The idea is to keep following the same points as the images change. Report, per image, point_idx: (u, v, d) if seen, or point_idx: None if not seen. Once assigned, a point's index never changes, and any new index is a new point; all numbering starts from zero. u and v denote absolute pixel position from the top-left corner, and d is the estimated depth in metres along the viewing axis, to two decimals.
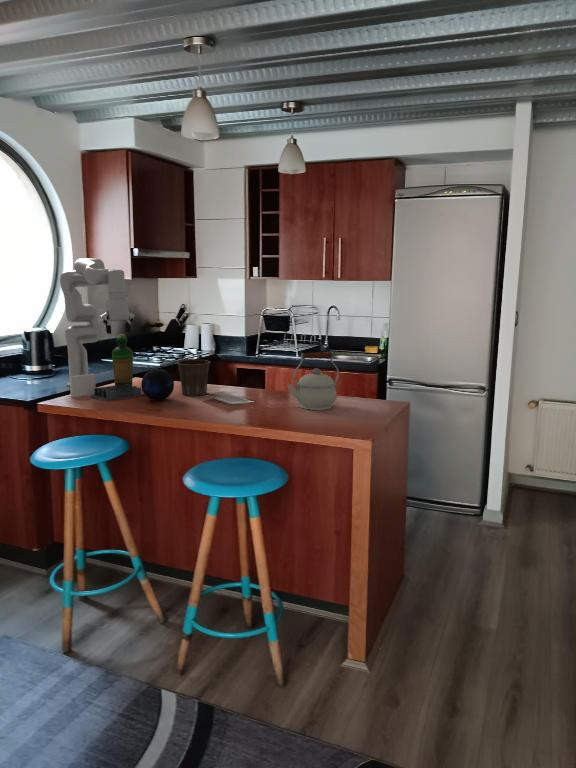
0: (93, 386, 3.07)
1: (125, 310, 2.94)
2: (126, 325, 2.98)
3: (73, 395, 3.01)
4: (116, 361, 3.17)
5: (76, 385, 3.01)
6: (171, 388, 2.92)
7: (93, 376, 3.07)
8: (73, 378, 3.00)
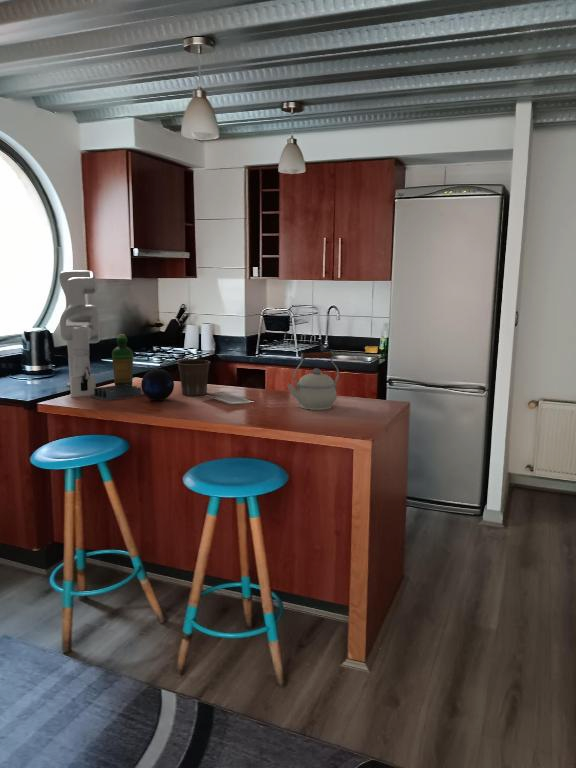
0: (93, 386, 3.07)
1: None
2: None
3: (73, 395, 3.01)
4: (117, 361, 3.17)
5: (76, 385, 3.01)
6: (171, 388, 2.92)
7: (93, 376, 3.07)
8: (73, 378, 3.00)
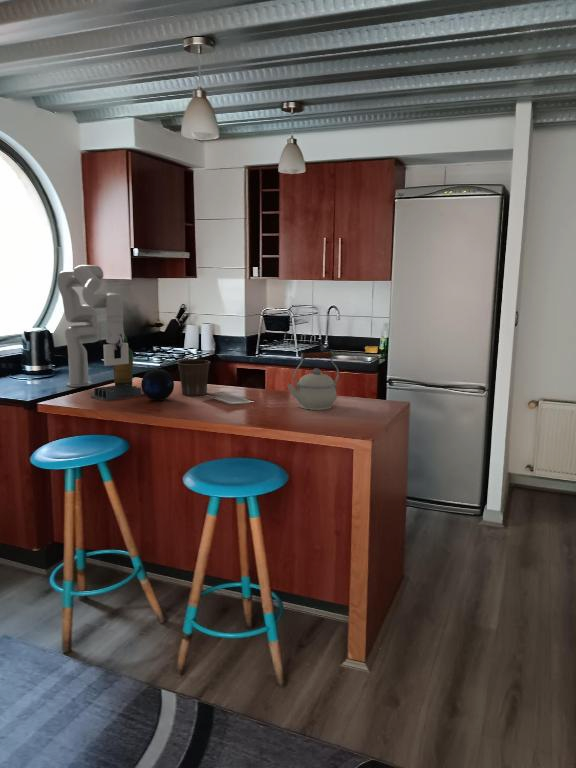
0: (126, 355, 3.04)
1: None
2: None
3: (107, 363, 2.98)
4: None
5: (110, 354, 2.98)
6: (171, 388, 2.92)
7: (126, 345, 3.03)
8: (107, 346, 2.97)
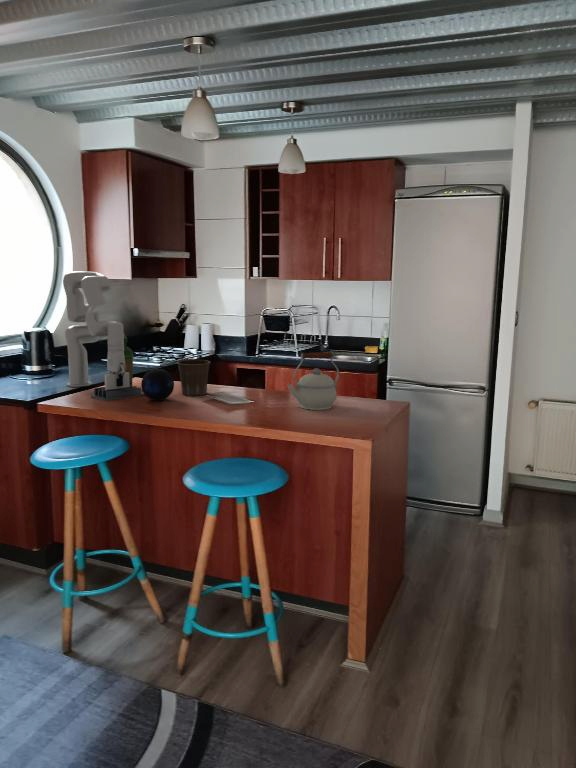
0: (127, 384, 3.07)
1: None
2: None
3: None
4: None
5: (111, 383, 3.01)
6: (171, 388, 2.92)
7: (127, 374, 3.06)
8: (108, 376, 2.99)
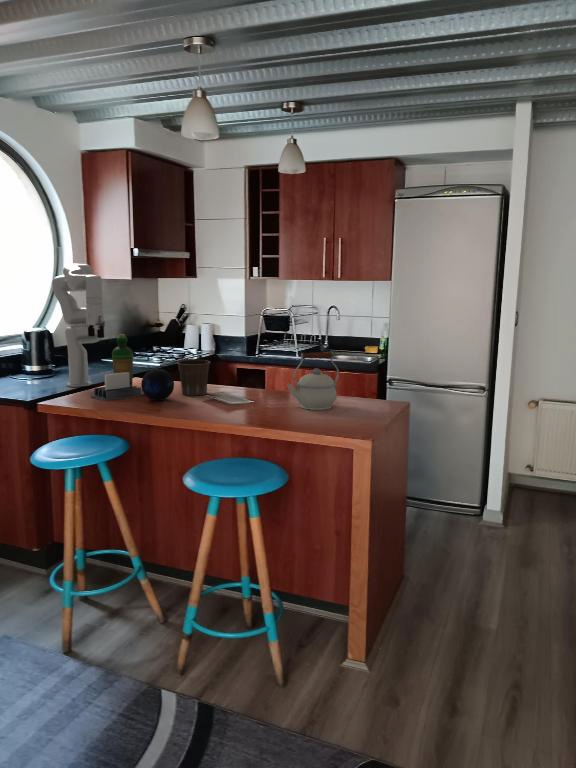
0: (127, 384, 3.07)
1: None
2: (91, 329, 3.06)
3: None
4: (117, 361, 3.17)
5: (111, 383, 3.01)
6: (171, 388, 2.92)
7: (127, 374, 3.06)
8: (108, 376, 2.99)
